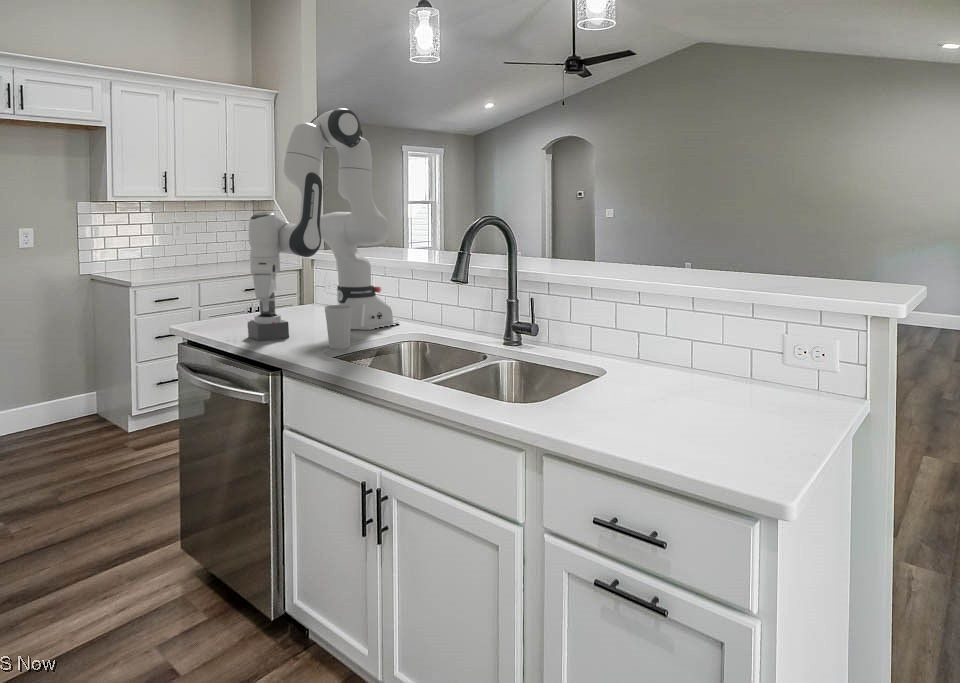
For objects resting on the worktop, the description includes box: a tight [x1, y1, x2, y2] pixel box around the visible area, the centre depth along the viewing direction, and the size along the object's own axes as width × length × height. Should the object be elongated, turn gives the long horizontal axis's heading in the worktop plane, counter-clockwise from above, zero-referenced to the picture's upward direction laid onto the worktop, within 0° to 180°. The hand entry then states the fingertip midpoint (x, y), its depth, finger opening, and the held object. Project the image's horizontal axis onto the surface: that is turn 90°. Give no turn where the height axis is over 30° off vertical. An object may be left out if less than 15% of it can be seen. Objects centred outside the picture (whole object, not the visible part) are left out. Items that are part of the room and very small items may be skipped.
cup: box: [324, 304, 352, 350], centre depth 207 cm, size 8×8×12 cm
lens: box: [258, 292, 277, 317], centre depth 219 cm, size 5×5×9 cm
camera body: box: [247, 313, 290, 342], centre depth 220 cm, size 10×9×7 cm
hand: (267, 309), depth 219 cm, fingers closed on lens, 5 cm apart
